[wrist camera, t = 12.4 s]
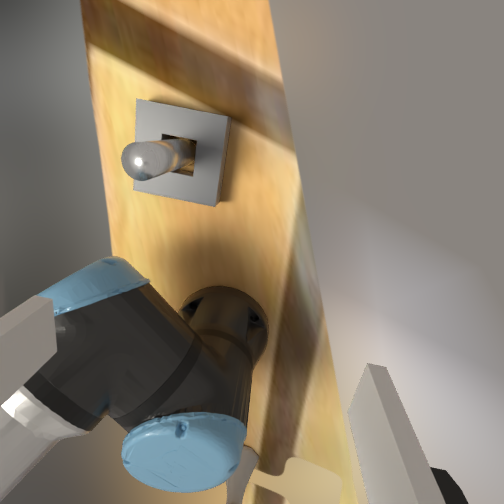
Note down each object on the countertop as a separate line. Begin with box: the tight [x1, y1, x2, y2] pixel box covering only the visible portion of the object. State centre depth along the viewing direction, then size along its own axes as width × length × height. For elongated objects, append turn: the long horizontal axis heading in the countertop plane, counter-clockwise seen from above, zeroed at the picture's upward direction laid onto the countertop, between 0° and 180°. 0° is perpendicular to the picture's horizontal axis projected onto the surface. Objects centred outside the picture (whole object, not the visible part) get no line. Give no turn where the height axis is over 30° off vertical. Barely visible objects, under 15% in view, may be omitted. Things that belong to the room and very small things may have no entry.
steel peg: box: [121, 138, 196, 181], centre depth 34 cm, size 3×3×14 cm
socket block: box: [133, 98, 232, 207], centre depth 39 cm, size 11×11×3 cm
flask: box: [226, 445, 259, 504], centre depth 57 cm, size 7×7×10 cm
